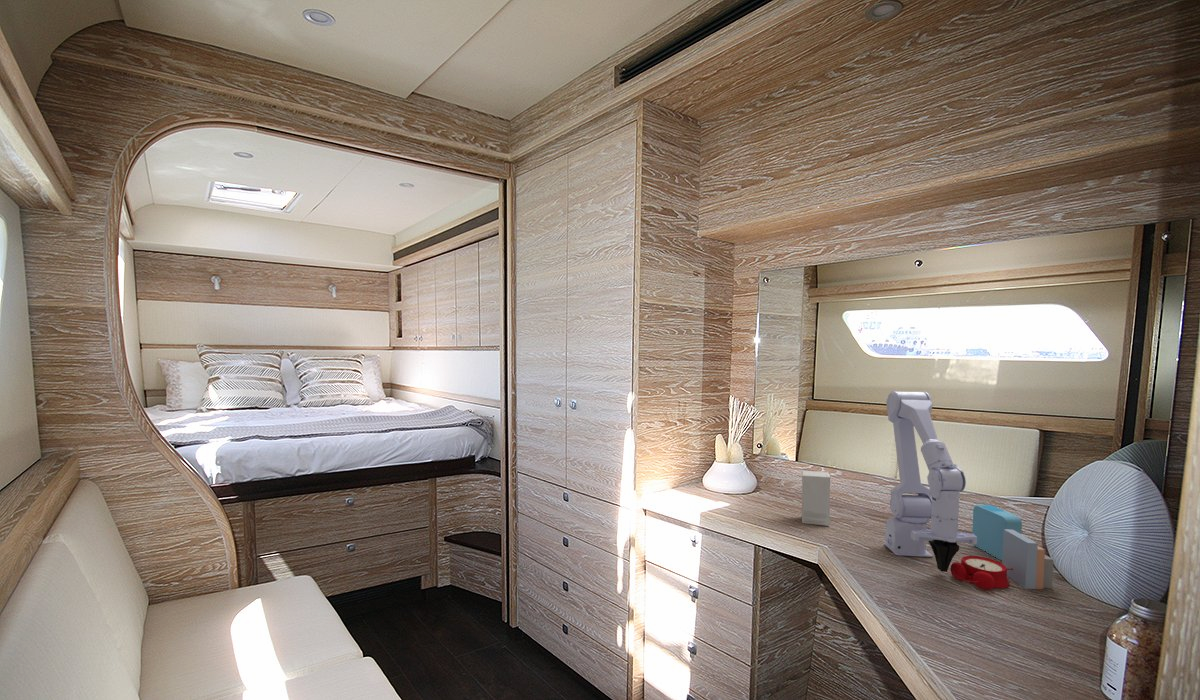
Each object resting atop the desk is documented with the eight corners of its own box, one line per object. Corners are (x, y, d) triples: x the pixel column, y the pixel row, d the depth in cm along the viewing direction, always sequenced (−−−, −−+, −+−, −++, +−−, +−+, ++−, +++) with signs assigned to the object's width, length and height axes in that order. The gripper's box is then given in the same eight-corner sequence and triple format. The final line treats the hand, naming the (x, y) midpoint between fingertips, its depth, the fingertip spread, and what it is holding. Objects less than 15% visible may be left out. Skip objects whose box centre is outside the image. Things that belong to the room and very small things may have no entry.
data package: (1020, 562, 145) (1022, 518, 144) (1004, 562, 144) (1006, 518, 144) (986, 544, 157) (988, 503, 156) (971, 544, 156) (973, 503, 156)
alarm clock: (1021, 568, 133) (989, 566, 126) (1017, 594, 132) (985, 593, 125) (974, 552, 142) (943, 550, 135) (970, 576, 142) (938, 575, 134)
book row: (1025, 588, 130) (1027, 542, 129) (1001, 571, 139) (1003, 529, 138) (1055, 590, 129) (1057, 544, 129) (1029, 573, 138) (1031, 530, 138)
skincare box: (828, 520, 175) (830, 472, 174) (829, 527, 168) (831, 477, 168) (800, 516, 177) (802, 469, 177) (800, 523, 171) (802, 474, 170)
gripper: (921, 520, 132) (919, 575, 133) (985, 523, 131) (982, 579, 131) (908, 510, 139) (906, 563, 140) (968, 513, 138) (966, 566, 138)
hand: (942, 570), depth 136 cm, fingers closed
